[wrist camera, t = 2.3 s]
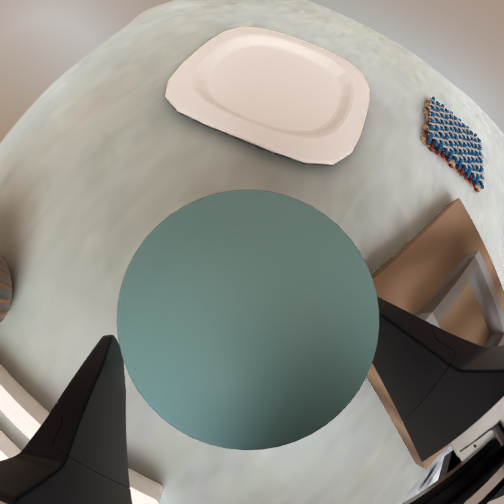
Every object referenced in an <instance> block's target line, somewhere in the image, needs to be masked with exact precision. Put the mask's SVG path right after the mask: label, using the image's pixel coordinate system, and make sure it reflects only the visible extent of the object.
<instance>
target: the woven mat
mask: <svg viewBox="0 0 504 504" xmlns="http://www.w3.org/2000/svg"><path fill="white" fill-rule="evenodd" d="M429 100H430V101H429ZM425 102H426V103H425V107H427V109H428V110H429V111H428V110H427V109H425V108H424V110H425V111H424V115H425V116H426V118H425V121H426V122H427V124H426V123H424V125H423V126H422V128H423V130H424V131H425V133H426V135H425V134H424V133H422V132H421V134H422V135H423V137H421V141H422V143H424V144H425V145H426V146H427V147H429V148H430V151H432V152H435V154H437V155H438V156H439V157H441V158H442V159H443V160H444V161H445V162H446V163H449V166H450V167H451V168H453V169H454V170H455V171H456V172H458V173H459V174H460V175H461V176H462V177H463V178H464V179H465V180H466V181H467V182H468V183H469V184H470V185H471V186H472V187H474V188H475V190H476V192H480V191H481V189H484V185H483V184H484V183H483V181H485V179H484V177H483V174H482V172H484V170H483V166H484V164H483V163H482V162H483V159H482V158H483V156H482V152H481V150H483V149H481V148H482V147H481V145H482V144H481V143H480V142H481V140H480V139H479V138H478V137H477V138H476V136H477V134H476V133H475V134H474V136H473V132H472V131H471V130H470V131H469V127H468V126H467V127H466V126H465V125H464V124H463V123H461V120H460V119H458V118H456V117H455V116H454V117H453V115H452V114H453V113H452V112H450V113H449V111H448V110H447V109H446V108H445V110H444V105H443V104H442V105H441V106H439V105H440V103H439V102H437V101H436V103H437V104H436V103H435V97H432V99H431V98H430V99H428V102H427V101H425ZM457 119H458V120H457ZM424 136H425V137H426V138H425V137H424ZM430 143H431V145H430ZM434 145H435V146H436V149H435V148H434ZM445 155H446V157H445ZM459 169H460V170H459ZM463 171H464V174H463ZM471 178H472V179H471ZM472 180H473V182H472ZM479 183H480V184H479ZM480 185H481V186H480Z"/></svg>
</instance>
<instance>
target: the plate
mask: <svg viewBox="0 0 504 504" xmlns="http://www.w3.org/2000/svg"><path fill="white" fill-rule="evenodd" d="M165 98H166V99H167V101H168V102H169V103H170V104H171V105H172V106H173V107H174V109H175V110H176V111H177V112H178V113H180V114H182V115H184V116H186V117H188V118H191V119H193V120H195V121H197V122H199V123H201V124H203V125H205V126H208V127H210V128H213V129H215V130H218V131H220V132H223V133H225V134H228V135H230V136H233V137H235V138H238V139H240V140H243V141H245V142H248V143H250V144H252V145H255V146H257V147H260V148H262V149H264V150H267V151H269V152H272V153H275V154H278V155H281V156H284V157H286V158H289V159H292V160H295V161H298V162H301V163H303V164H315V165H330V166H333V165H334V164H336V163H337V162H339V161H341V160H342V159H344V158H345V157H347V156H349V155H350V154H351V153H352V151H353V149H354V147H355V145H356V143H357V141H358V139H359V137H360V136H361V132H362V129H363V126H364V122H365V119H366V115H367V110H368V106H369V101H370V87H369V85H368V83H367V81H366V79H365V77H364V75H363V73H361V72H360V71H359V70H358V69H357V68H356V67H354V66H353V65H352V64H351V63H349V62H348V61H347V60H345V59H343V58H341V57H339V56H337V55H335V54H334V53H332V52H330V51H328V50H325V49H323V48H321V47H319V46H316V45H314V44H311V43H309V42H306V41H304V40H301V39H298V38H295V37H293V36H290V35H287V34H284V33H280V32H276V31H272V30H268V29H264V28H256V27H239V28H234V29H230V30H226V31H224V32H222V33H221V34H219V35H217V36H215V37H214V38H212V39H210V40H209V41H208V42H207V43H205V44H204V45H203V46H202V47H200V48H199V49H198V50H197V51H195V52H194V53H193V54H192V55H191V56H190V57H189V58H188V59H186V60H185V61H184V62H183V63H182V64H181V65H180V66H179V67H178V69H177V70H176V71H175V72H174V74H173V75H172V76H171V77H170V79H169V80H168V83H167V88H166V94H165Z"/></svg>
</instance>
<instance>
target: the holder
mask: <svg viewBox="0 0 504 504" xmlns="http://www.w3.org/2000/svg"><path fill="white" fill-rule="evenodd" d="M0 410H1V411H2V412H3V413H4V414H5V415H6V416H7V417H8V418H9V419H10V421H11V422H12V423H13V424H14V425H15V426H16V427H17V428H18V429H19V430H20V431H21V432H23V433H24V434H25V435H26V436H27V437H28V438H29V439H30V440H31V438H32V437H33V436H34V434H35V433H36V432H37V430H38V429H39V428H40V426H41V425H42V424H43V422H44V421H45V419H46V418H47V416H48V415H49V412H48V411H47V410H46V409H45V408H44V407H42V406H41V405H40V404H39V403H38V402H37V401H36V400H35V399H34V398H33V397H32V396H31V395H30V394H29V393H27V392H26V391H25V390H24V389H23V388H22V387H21V386H20V385H19V383H18V382H17V381H16V380H15V379H14V378H13V377H12V376H11V375H10V374H9V373H8V372H7V371H6V370H5V368H4V367H3V366H2V365H1V364H0ZM20 452H21V450H20V449H19V448H18V447H17V446H16V445H15V444H14V443H13V442H12V441H11V440H10V439H9V438H8V437H7V436H6V435H5V434H4V433H3V432H2V431H1V430H0V461H2V460H5V459H8V458H11V457H14V456H16V455H17V454H19V453H20ZM128 472H129V482H130V488H129V489H130V490H131V498H132V504H159V501H160V498H161V495H162V491H163V486H162V485H161V484H159V483H157V482H155V481H153V480H151V479H149V478H147V477H145V476H143V475H141V474H139V473H137V472H135V471H133V470H132V469H130V468H128Z"/></svg>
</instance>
